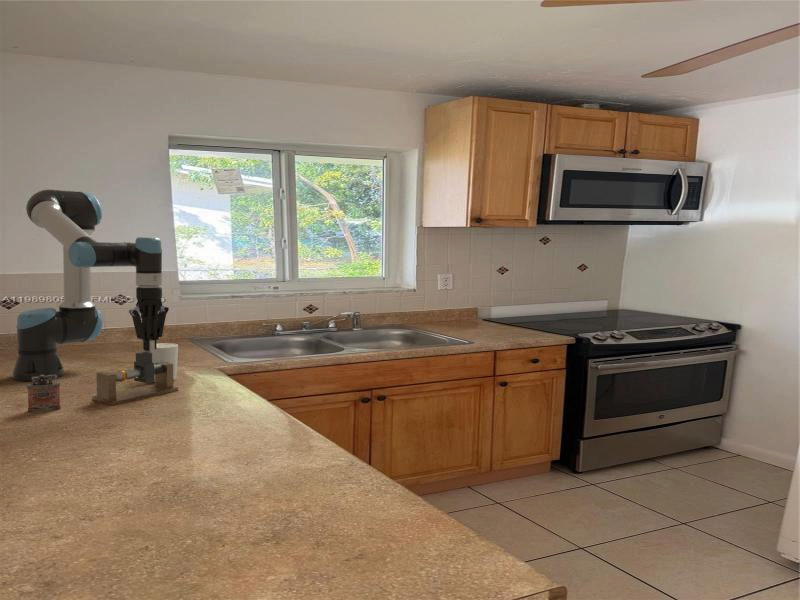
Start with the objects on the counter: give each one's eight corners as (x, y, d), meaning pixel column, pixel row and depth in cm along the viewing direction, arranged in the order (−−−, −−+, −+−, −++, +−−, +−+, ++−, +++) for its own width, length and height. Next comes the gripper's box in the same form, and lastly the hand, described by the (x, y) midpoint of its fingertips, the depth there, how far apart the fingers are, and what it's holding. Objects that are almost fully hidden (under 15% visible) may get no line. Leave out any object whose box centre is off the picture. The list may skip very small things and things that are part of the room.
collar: (134, 380, 192) (133, 352, 191) (142, 378, 194) (142, 351, 193) (145, 383, 189) (145, 354, 188) (154, 381, 191) (153, 353, 190)
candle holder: (168, 383, 206) (168, 348, 205) (142, 381, 208) (142, 346, 207) (184, 377, 215) (183, 343, 214) (159, 375, 217) (158, 342, 216)
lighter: (27, 413, 168) (26, 377, 167) (28, 409, 171) (27, 375, 170) (60, 410, 171) (59, 375, 170) (60, 407, 174) (60, 372, 173)
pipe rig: (92, 400, 183) (91, 371, 182) (158, 385, 202) (158, 360, 201) (111, 405, 177) (111, 376, 176) (178, 390, 197) (177, 364, 196)
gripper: (137, 288, 183) (139, 365, 185) (174, 286, 194) (175, 358, 196) (122, 286, 187) (124, 361, 189) (159, 284, 198) (160, 355, 200)
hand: (150, 360), depth 193 cm, fingers closed
